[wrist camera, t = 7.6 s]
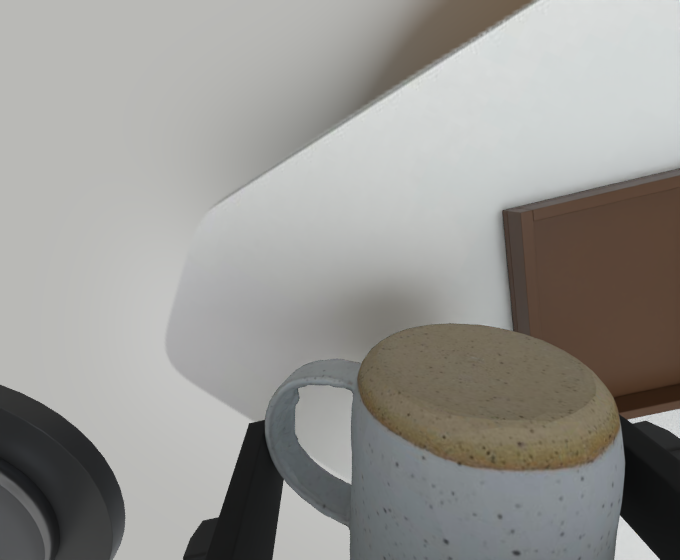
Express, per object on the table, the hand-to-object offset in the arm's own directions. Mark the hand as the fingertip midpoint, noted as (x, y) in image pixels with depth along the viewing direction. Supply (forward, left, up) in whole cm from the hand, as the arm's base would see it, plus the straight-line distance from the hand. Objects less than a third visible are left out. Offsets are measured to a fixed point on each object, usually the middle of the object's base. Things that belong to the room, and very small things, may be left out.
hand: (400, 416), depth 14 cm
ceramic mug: (0, 0, -1) cm, 1 cm away
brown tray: (+16, -2, -9) cm, 19 cm away
